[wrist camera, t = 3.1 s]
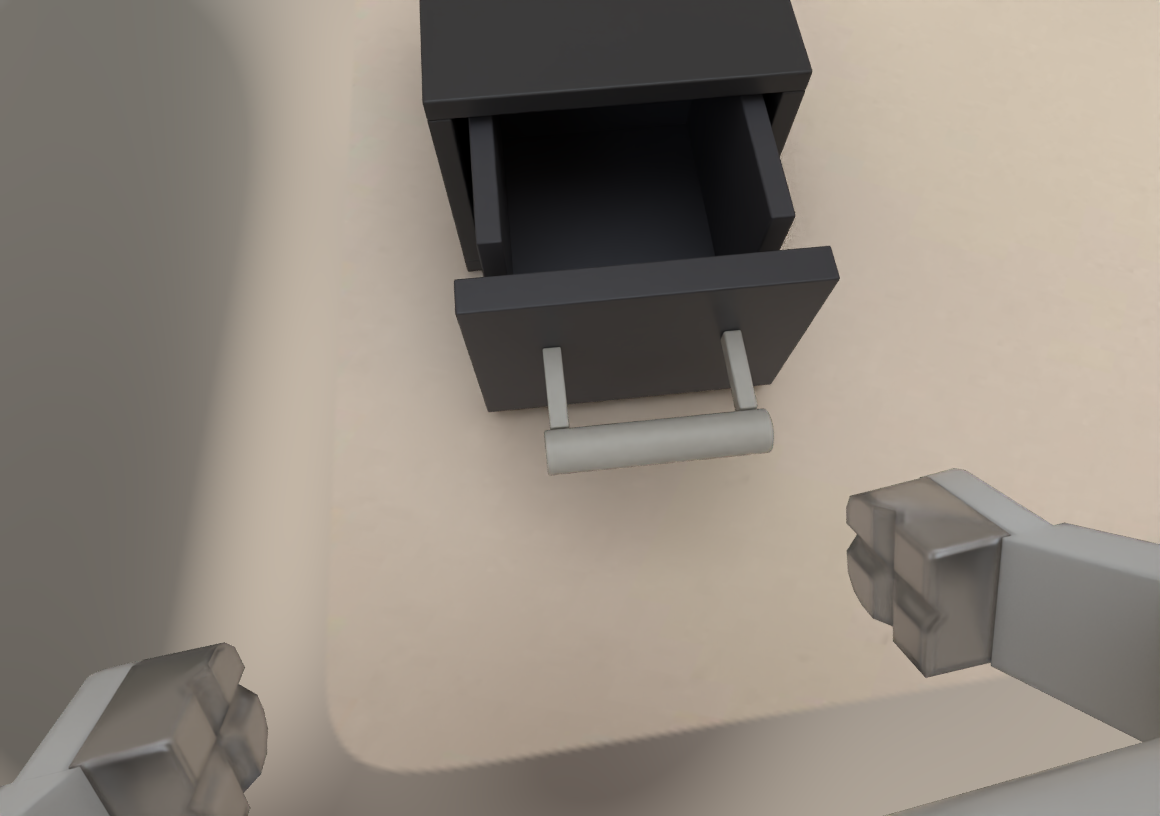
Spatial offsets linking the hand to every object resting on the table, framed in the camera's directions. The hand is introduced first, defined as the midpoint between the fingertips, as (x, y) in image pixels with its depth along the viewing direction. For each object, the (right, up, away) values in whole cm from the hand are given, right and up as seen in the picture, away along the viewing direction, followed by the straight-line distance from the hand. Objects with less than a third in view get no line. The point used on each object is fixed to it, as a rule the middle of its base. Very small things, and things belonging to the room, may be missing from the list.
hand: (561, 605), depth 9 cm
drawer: (+2, +7, +20) cm, 21 cm away
